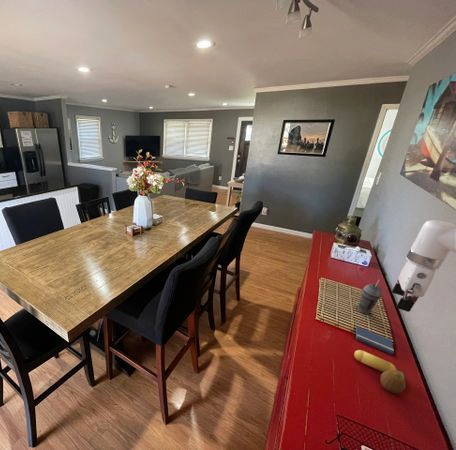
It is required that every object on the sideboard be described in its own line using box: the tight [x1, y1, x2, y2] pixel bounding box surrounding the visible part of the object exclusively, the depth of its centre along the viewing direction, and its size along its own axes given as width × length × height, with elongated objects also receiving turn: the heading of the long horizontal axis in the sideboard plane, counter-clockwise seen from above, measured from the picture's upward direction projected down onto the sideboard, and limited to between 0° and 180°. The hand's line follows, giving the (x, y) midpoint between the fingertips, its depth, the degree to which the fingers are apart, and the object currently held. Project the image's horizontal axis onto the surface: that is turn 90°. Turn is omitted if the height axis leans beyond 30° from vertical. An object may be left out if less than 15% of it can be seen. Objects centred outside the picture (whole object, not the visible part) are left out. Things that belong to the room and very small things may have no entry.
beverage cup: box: [357, 278, 383, 315], centre depth 117 cm, size 7×7×20 cm
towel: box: [355, 326, 395, 356], centre depth 104 cm, size 12×8×2 cm, turn 52°
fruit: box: [379, 370, 407, 394], centre depth 83 cm, size 6×6×8 cm
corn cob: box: [353, 349, 405, 379], centre depth 92 cm, size 15×4×4 cm, turn 52°
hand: (399, 301), depth 82 cm, fingers open, 9 cm apart
